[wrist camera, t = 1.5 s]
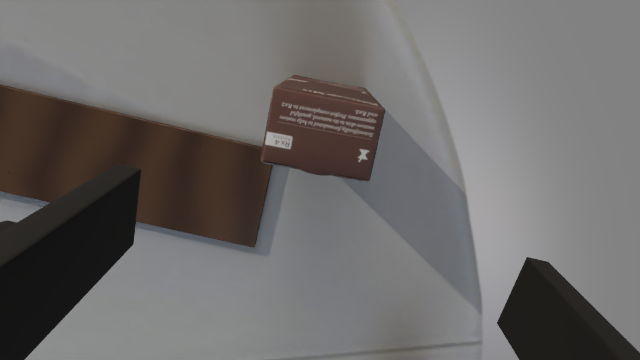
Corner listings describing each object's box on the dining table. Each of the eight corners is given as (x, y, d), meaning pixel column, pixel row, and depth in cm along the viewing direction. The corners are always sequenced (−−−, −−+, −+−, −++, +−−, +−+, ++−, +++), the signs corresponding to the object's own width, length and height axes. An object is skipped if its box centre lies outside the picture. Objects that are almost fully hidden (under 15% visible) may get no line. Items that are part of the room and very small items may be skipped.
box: (367, 84, 32) (390, 107, 21) (354, 139, 33) (369, 191, 22) (290, 68, 32) (270, 84, 20) (281, 125, 33) (258, 170, 22)
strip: (275, 150, 34) (274, 151, 33) (255, 245, 37) (254, 247, 36) (-25, 78, 32) (-29, 79, 32) (-22, 183, 35) (-26, 185, 35)
